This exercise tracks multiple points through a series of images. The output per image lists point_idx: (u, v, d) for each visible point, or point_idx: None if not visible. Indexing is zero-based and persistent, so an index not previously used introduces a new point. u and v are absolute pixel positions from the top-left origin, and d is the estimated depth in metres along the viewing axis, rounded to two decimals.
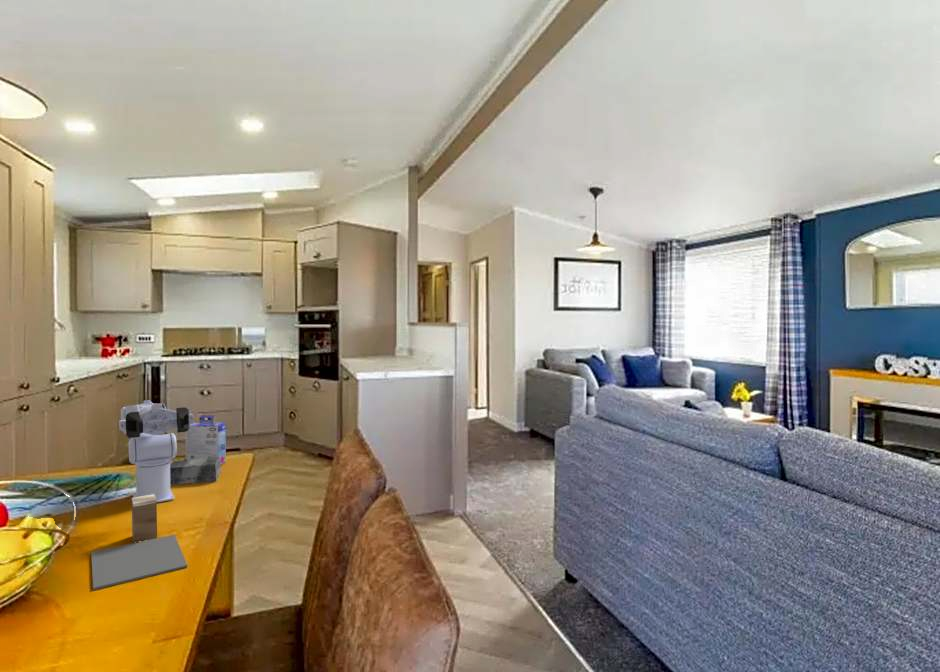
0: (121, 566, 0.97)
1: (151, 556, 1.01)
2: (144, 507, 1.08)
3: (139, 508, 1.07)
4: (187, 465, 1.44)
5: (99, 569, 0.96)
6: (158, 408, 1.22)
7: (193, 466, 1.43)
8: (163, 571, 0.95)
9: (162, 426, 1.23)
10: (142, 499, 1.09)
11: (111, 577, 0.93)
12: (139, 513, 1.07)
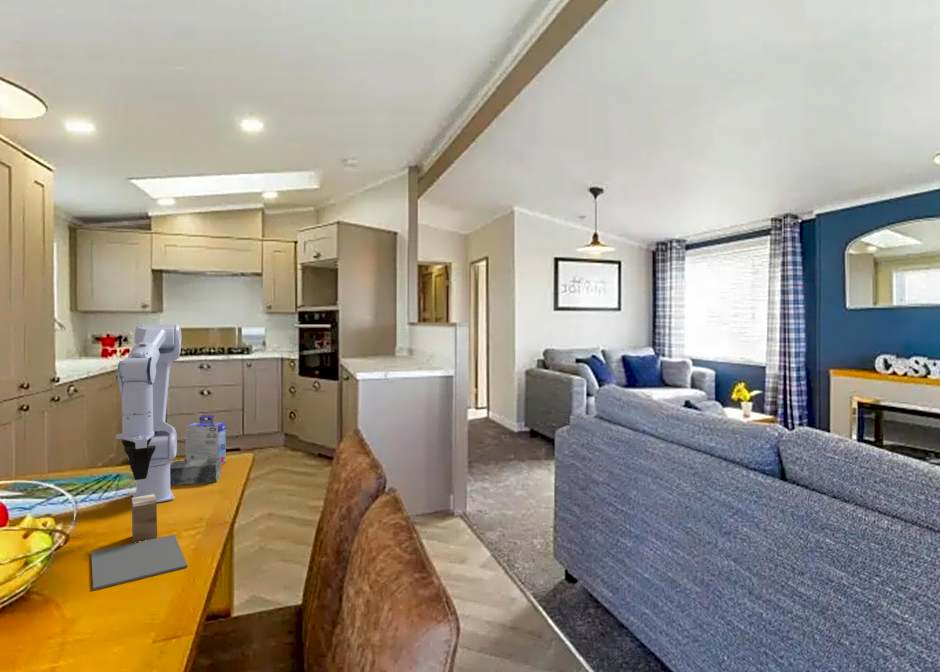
0: (121, 566, 0.97)
1: (151, 556, 1.01)
2: (144, 507, 1.08)
3: (139, 508, 1.07)
4: (187, 466, 1.43)
5: (99, 569, 0.96)
6: None
7: (193, 467, 1.42)
8: (163, 571, 0.95)
9: None
10: (142, 499, 1.09)
11: (111, 577, 0.93)
12: (139, 513, 1.07)
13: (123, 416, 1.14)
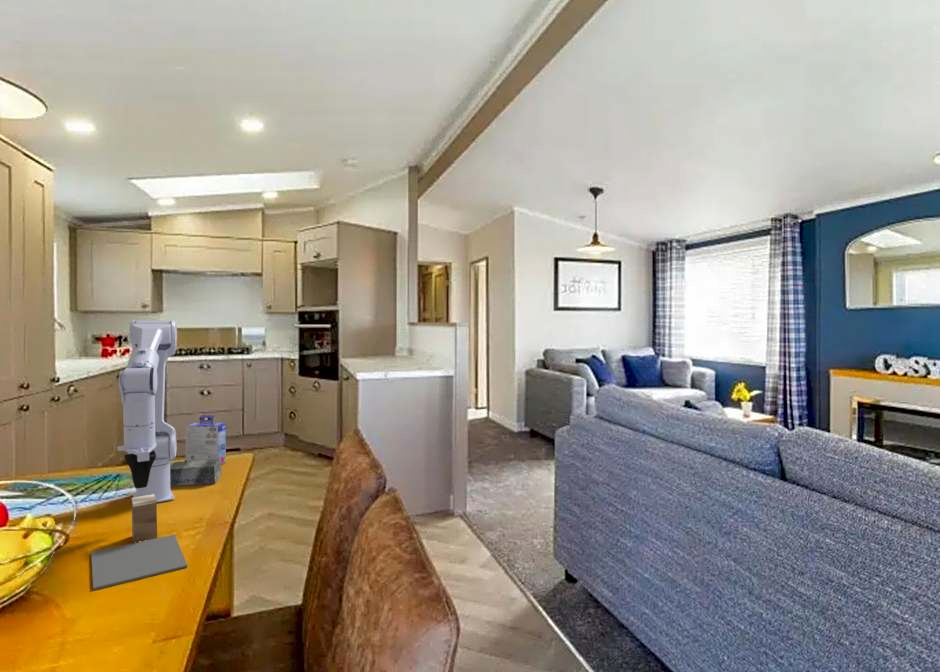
0: (121, 566, 0.97)
1: (151, 556, 1.01)
2: (144, 507, 1.08)
3: (139, 508, 1.07)
4: (186, 467, 1.42)
5: (99, 569, 0.96)
6: None
7: (192, 468, 1.42)
8: (163, 571, 0.95)
9: None
10: (142, 499, 1.09)
11: (111, 577, 0.93)
12: (139, 513, 1.07)
13: (125, 428, 1.12)
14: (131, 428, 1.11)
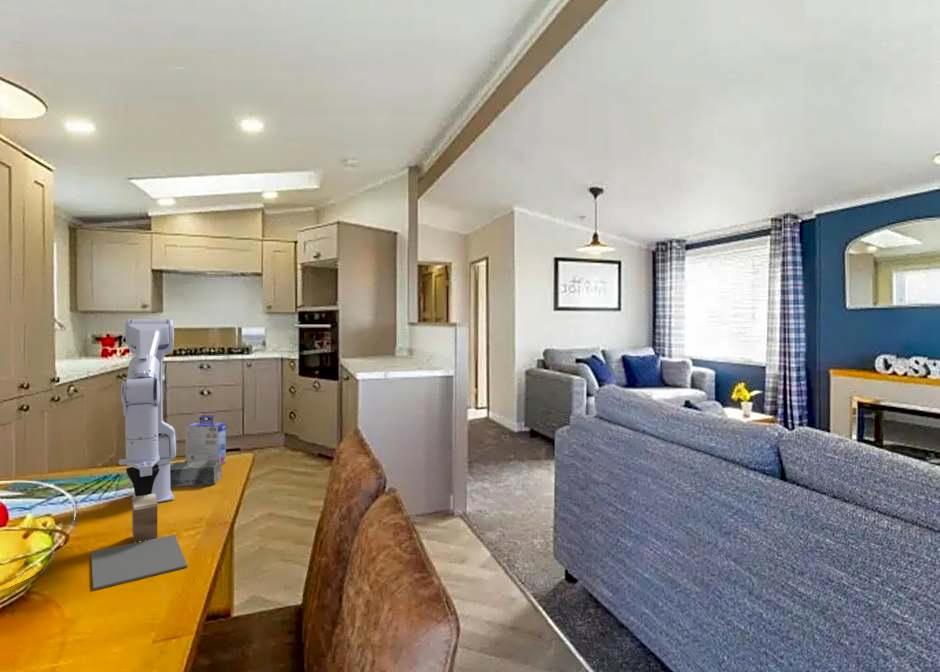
0: (121, 566, 0.97)
1: (151, 556, 1.01)
2: (145, 510, 1.07)
3: (140, 511, 1.06)
4: (186, 467, 1.41)
5: (99, 569, 0.96)
6: None
7: (191, 469, 1.41)
8: (163, 571, 0.95)
9: None
10: (143, 501, 1.08)
11: (111, 577, 0.93)
12: (140, 516, 1.06)
13: (127, 441, 1.08)
14: (133, 441, 1.07)
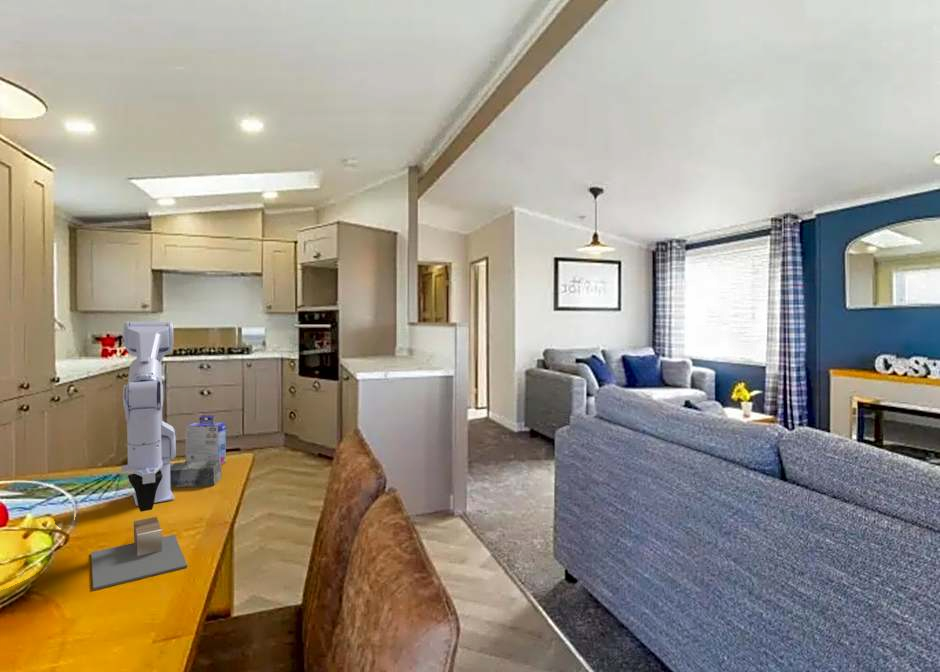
0: (121, 566, 0.97)
1: (151, 556, 1.01)
2: None
3: None
4: (185, 468, 1.41)
5: (99, 569, 0.96)
6: None
7: (191, 469, 1.40)
8: (163, 571, 0.95)
9: None
10: (148, 545, 1.02)
11: (111, 577, 0.93)
12: None
13: (129, 446, 1.04)
14: (136, 447, 1.03)
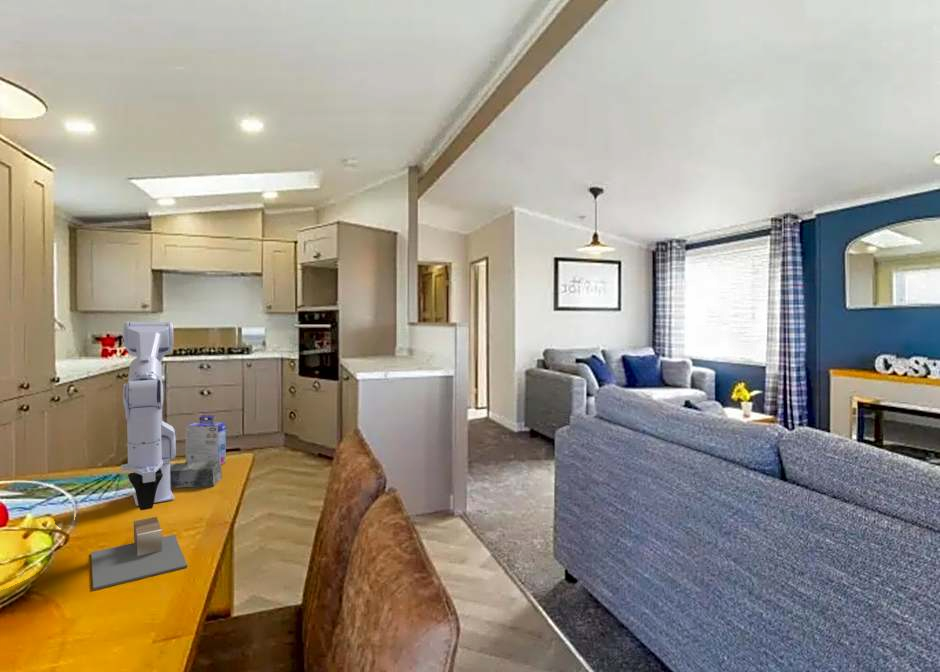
0: (121, 566, 0.97)
1: (151, 556, 1.01)
2: None
3: None
4: (185, 469, 1.40)
5: (99, 569, 0.96)
6: None
7: (190, 470, 1.40)
8: (163, 571, 0.95)
9: None
10: (148, 545, 1.02)
11: (111, 577, 0.93)
12: None
13: (129, 445, 1.03)
14: (136, 446, 1.03)
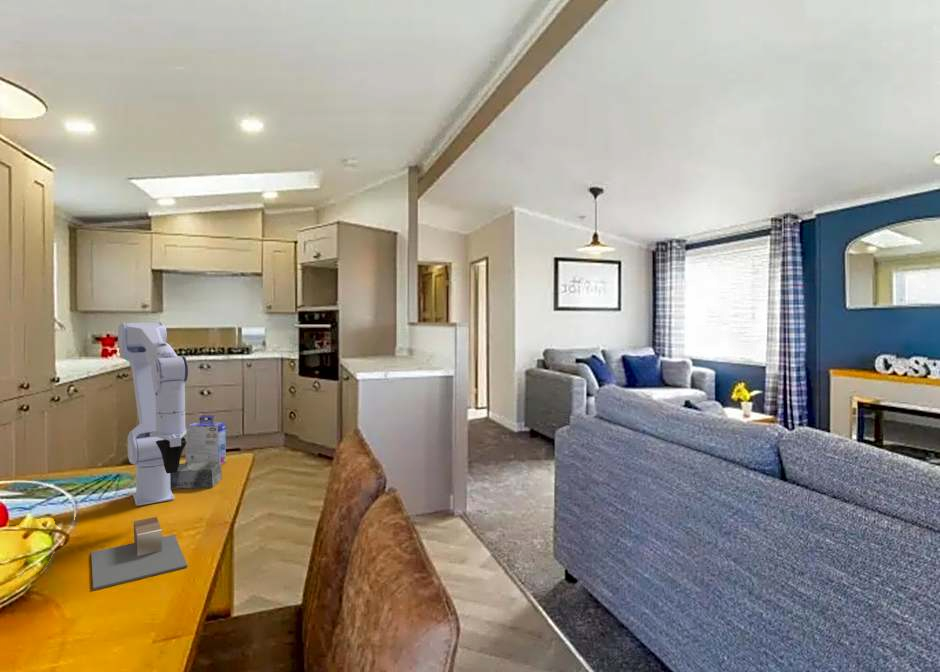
0: (121, 566, 0.97)
1: (151, 556, 1.01)
2: None
3: None
4: (184, 469, 1.40)
5: (99, 569, 0.96)
6: None
7: (190, 471, 1.39)
8: (163, 571, 0.95)
9: None
10: (148, 545, 1.02)
11: (111, 577, 0.93)
12: None
13: (157, 415, 1.16)
14: (163, 415, 1.16)
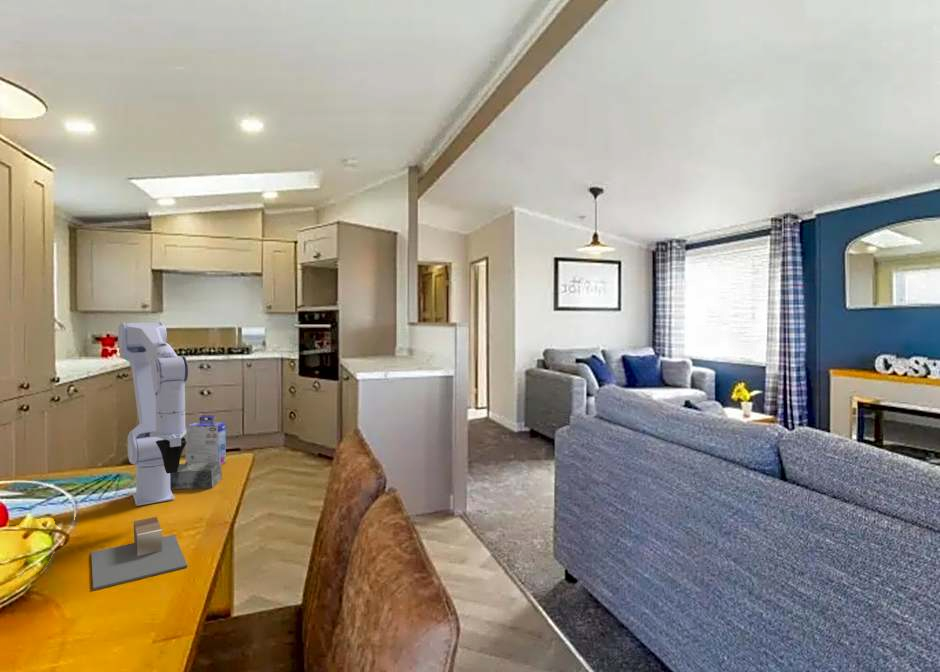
0: (121, 566, 0.97)
1: (151, 556, 1.01)
2: None
3: None
4: (184, 470, 1.39)
5: (99, 569, 0.96)
6: None
7: (189, 471, 1.39)
8: (163, 571, 0.95)
9: None
10: (148, 545, 1.02)
11: (111, 577, 0.93)
12: None
13: (157, 415, 1.16)
14: (163, 415, 1.16)
